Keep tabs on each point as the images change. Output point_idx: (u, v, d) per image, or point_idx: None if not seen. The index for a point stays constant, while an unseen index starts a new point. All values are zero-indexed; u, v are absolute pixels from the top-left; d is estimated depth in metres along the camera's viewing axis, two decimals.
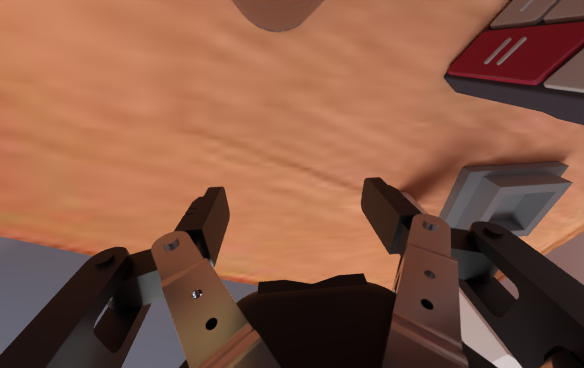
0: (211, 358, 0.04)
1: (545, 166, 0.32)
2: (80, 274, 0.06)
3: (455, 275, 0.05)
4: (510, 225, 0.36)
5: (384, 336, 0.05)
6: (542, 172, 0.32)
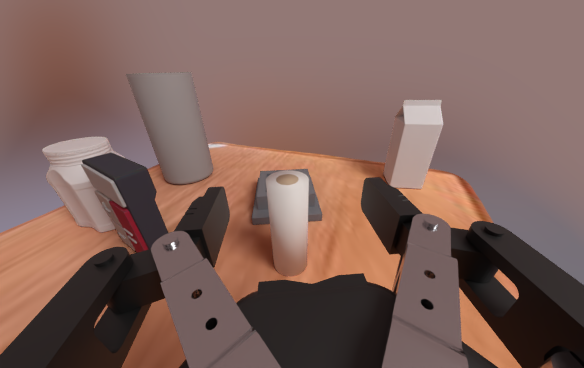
0: (211, 358, 0.04)
1: (257, 185, 0.49)
2: (80, 274, 0.06)
3: (455, 275, 0.05)
4: None
5: (384, 336, 0.05)
6: None
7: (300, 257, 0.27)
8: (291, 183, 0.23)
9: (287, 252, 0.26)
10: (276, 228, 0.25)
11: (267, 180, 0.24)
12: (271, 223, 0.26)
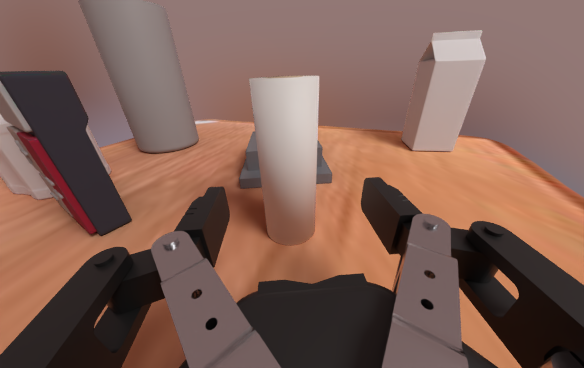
0: (211, 358, 0.04)
1: None
2: (80, 274, 0.06)
3: (456, 275, 0.05)
4: None
5: (384, 336, 0.05)
6: None
7: (305, 213, 0.18)
8: (291, 76, 0.14)
9: (286, 204, 0.17)
10: (267, 162, 0.16)
11: (252, 78, 0.15)
12: (260, 156, 0.16)
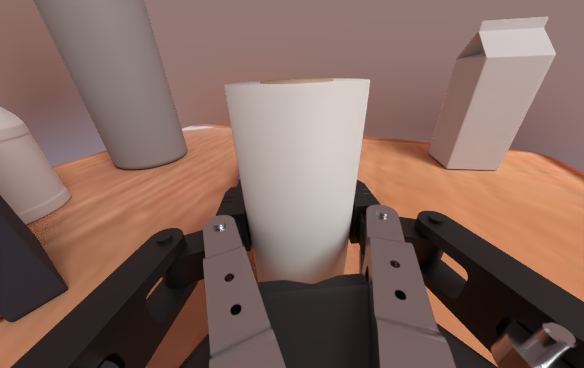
0: (228, 342, 0.04)
1: None
2: (145, 247, 0.07)
3: (414, 259, 0.06)
4: None
5: None
6: None
7: None
8: (313, 80, 0.06)
9: None
10: (262, 240, 0.08)
11: (231, 84, 0.07)
12: (250, 225, 0.09)
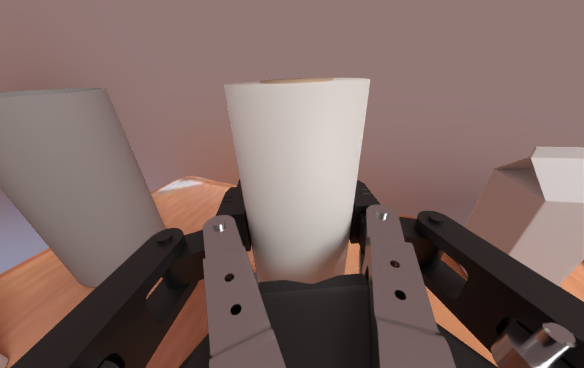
0: (229, 342, 0.04)
1: None
2: (145, 247, 0.07)
3: (414, 259, 0.06)
4: None
5: None
6: None
7: None
8: (313, 80, 0.06)
9: None
10: (262, 240, 0.08)
11: (231, 83, 0.07)
12: (250, 225, 0.09)
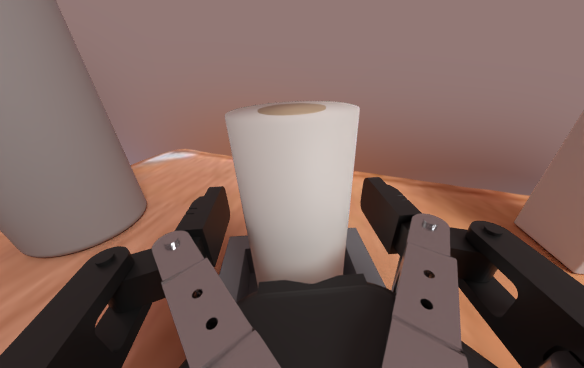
0: (211, 358, 0.04)
1: None
2: (81, 274, 0.06)
3: (455, 275, 0.05)
4: (347, 264, 0.16)
5: (384, 336, 0.05)
6: None
7: None
8: (306, 111, 0.07)
9: None
10: (262, 256, 0.09)
11: (231, 112, 0.08)
12: (250, 241, 0.09)
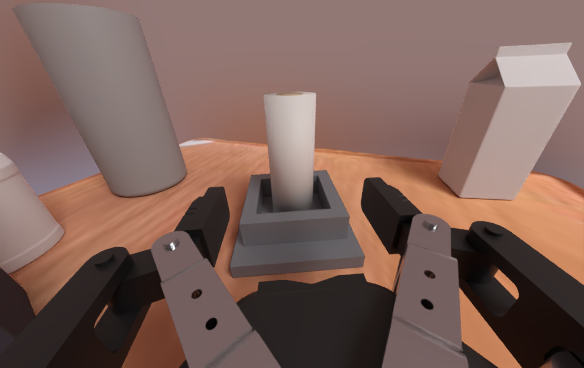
0: (211, 358, 0.04)
1: None
2: (80, 274, 0.06)
3: (456, 275, 0.05)
4: (319, 187, 0.28)
5: (384, 336, 0.05)
6: None
7: (304, 199, 0.23)
8: (295, 94, 0.19)
9: (289, 190, 0.22)
10: (275, 157, 0.21)
11: (265, 95, 0.20)
12: (270, 153, 0.21)
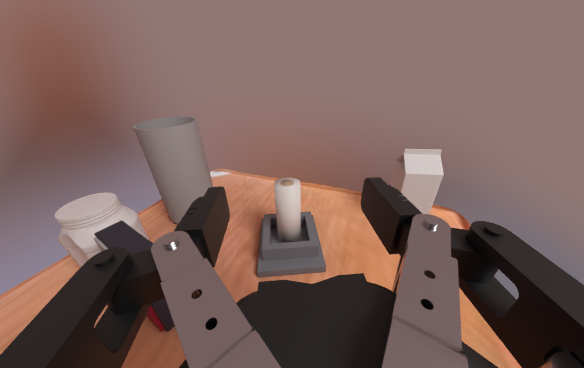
0: (211, 358, 0.04)
1: (261, 228, 0.49)
2: (80, 274, 0.06)
3: (455, 275, 0.05)
4: (305, 223, 0.47)
5: (384, 336, 0.05)
6: None
7: (295, 233, 0.42)
8: (289, 185, 0.38)
9: (287, 230, 0.41)
10: (279, 213, 0.40)
11: (275, 183, 0.39)
12: (277, 210, 0.41)
